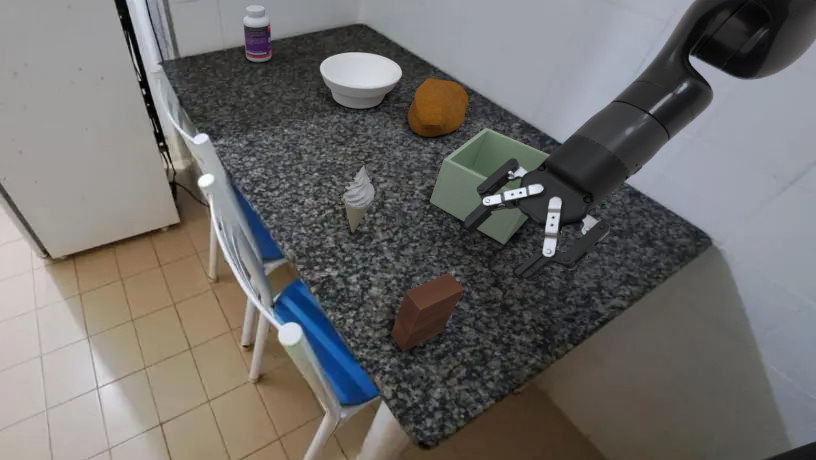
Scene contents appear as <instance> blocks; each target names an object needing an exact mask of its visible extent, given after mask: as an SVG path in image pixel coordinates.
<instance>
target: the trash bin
mask: <svg viewBox="0 0 816 460" xmlns="http://www.w3.org/2000/svg"><path fill="white" fill-rule="evenodd" d="M550 155H551V154H549V153H547V152H544V151H542V150H540V149H538V148H535V147H532V146H531V145H528V144H526V143H523V142H521V141H518V140H516V139H514V138H511V137H509V136H507V135H506V134H502V133H500V132H497V131H496V130H493V129H490V128H488V127H484V128H483V129H482V130H481V131H479V132H478V133H477V134H475V135H474V136H472V137H471V138H470V139H469V140H468V141H466V142H465V143H464V144H462V145H461V146H459V147H458V148H456V149H455V150H454V151H453V152H452V153H450V154H449V155H448V156H446V157H445V158H444V159H443V161H442V163H441V167H440V168H439V172H438V174H437V178H436V181H435V184H434V188H433V191H432V194H431V196H430V199H429V203H430V204H432V205H434V206H436V207H437V208H439V209H441V210H443V211H444V212H446V213H448V214H449V215H452V216H453V217H455V218H457V219H459V220H460V221H462V222H464V220H465V218H466V217H467V216H468V215H469V214H470V213H472V211H473V210H475V209H476V208H477V207H478V206H479V205H480V204H481V197H480V195H479V194H478V192H477V187H478V186H479V185H480V184H481V183H483V182H484V181H485V180H486V179H487V178H488V177H490V176H491V175H492V174H493V173H494V172H495V171H496V170H498V169H499V168H500V167H501V166H502V165H503V164H505V163H506V162H507V161H508V160H509V159H511V158H515V159H516V160H517V161H518V163H519V165H520V166H521V167H523V168H524V169H525V170H526V171H528V172H530V171H533V170H535V169H536V168H538V167H539V166H540V165H541V163H542V162H543V161H544V160H545V159H546V158H547V157H549V156H550ZM520 183H521V179H517V180H516V181H509V182H508V183H507V184H506V185H505V186H503V187H502V188H501V189H500V190H499V191H497V192H496V193H495V194H494V195H498V194H501V193H502V192H505V191H509V190H514V189H519V188H520ZM491 213H492V215H491V216H490V217H489V218H488V219H487V220H486V221H485V222H483V223H482V224H481V225H480V226H479V227H478V228H477V229H476V230H478V231H480V232H481V233H483V234H485V235H487V236H488V237H490V238H492V239H493V240H495V241H497V242H499V243H500V244H502V245H505V244H506V243H507V242H508V241H509V240H510V239H511V238H512V237H513V235H514V234H515V233H516V232H518V230H519V229H520V227H522V226H523V225H524V223H525V222H526V221H527V220H528V219H529V217H527V216H525V215H524V214H523V213H522V212H521V211H520V210H519V208H515V209H502V210H496V211H492V212H491Z"/></svg>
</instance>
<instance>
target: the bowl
mask: <svg viewBox="0 0 816 460" xmlns="http://www.w3.org/2000/svg"><path fill="white" fill-rule="evenodd" d="M319 70H320V72H319V73H320V75H321V76H322V79H323V82H324V84H325V86H326V87H327V88H328V89H330V92H331V96H332V98H333V100H334V101H335V102H336V103H338V104H339V105H342V106H344V107H347V108H351V109H369V108H373V107H377V106H378V105H380V104H381V103H382V101H383V100H384V98H385V96H386V95H387V94H388V93H390V92H391V91H392V90H393V89H394V88H395V87H396V85H397V84H398V82H399V81H400V80H401V78H402V75H403V71H402V68H401V66H400V65H399V64H398V63H397V62H395V61H394V60H392V59H390V58H388V57H385V56H383V55H380V54H376V53H370V52H360V51H359V52H356V51H355V52H353V51H352V52H342V53H338V54H333V55H331V56H328V57H327V58H326V59H324V60H323V61H322V62H321V63H320V66H319Z"/></svg>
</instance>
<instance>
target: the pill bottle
mask: <svg viewBox="0 0 816 460" xmlns="http://www.w3.org/2000/svg"><path fill="white" fill-rule="evenodd" d="M245 13H246V16H244V17H243V19H242V27H243V39H244V47H245V57H246V58H247V60H249V61H251V62H252V63H264V62H268V61H269V60H271V59H272V57H273V52H272V51H273V50H272V33H271V20H270V19H271V18H269V16H268V15H266V7H265V6H264V5H258V4H256V5H255V4H254V5H248V6H246V7H245Z"/></svg>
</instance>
